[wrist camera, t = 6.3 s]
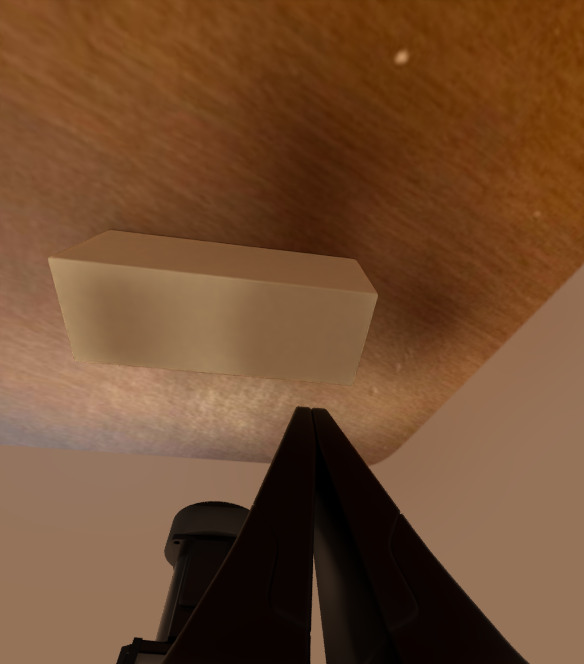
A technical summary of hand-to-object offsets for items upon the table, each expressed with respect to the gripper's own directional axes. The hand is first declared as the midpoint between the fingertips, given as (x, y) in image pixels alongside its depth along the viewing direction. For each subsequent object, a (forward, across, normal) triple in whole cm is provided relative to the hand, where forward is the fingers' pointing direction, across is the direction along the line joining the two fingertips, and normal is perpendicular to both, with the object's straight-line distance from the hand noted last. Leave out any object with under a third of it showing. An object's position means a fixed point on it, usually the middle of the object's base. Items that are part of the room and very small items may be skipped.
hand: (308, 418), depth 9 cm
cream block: (+7, -3, 0) cm, 7 cm away
